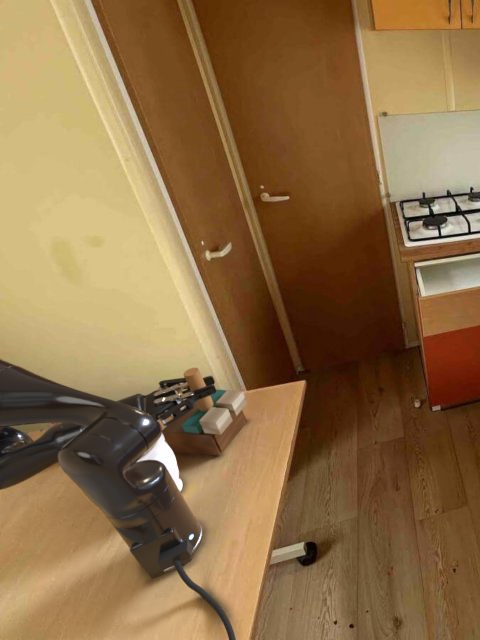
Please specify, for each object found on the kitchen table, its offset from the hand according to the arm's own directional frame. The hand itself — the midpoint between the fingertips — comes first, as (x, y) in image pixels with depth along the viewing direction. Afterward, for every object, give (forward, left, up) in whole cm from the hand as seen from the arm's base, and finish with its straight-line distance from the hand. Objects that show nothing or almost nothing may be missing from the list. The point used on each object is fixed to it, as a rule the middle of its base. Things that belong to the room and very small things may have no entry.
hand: (214, 383), depth 97 cm
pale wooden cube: (-5, +1, -9) cm, 10 cm away
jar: (-11, +14, -16) cm, 24 cm away
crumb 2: (0, -2, -9) cm, 9 cm away
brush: (0, +3, -8) cm, 9 cm away
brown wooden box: (+1, +5, -16) cm, 17 cm away
